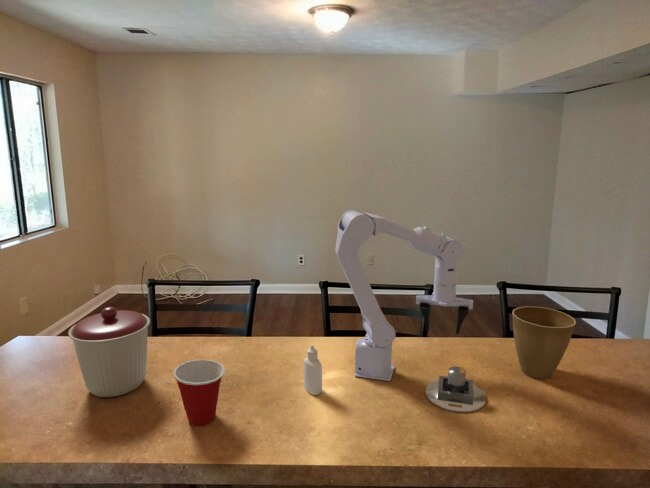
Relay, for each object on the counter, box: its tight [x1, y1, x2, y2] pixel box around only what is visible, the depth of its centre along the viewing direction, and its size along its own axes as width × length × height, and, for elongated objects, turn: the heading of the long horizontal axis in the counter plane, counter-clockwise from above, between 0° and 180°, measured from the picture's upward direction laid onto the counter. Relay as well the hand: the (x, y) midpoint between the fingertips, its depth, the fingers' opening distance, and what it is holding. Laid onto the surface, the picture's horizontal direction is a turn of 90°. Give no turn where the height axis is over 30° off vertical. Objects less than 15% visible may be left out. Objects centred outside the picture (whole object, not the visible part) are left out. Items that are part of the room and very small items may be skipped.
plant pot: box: [511, 306, 577, 380], centre depth 119 cm, size 15×15×16 cm
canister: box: [67, 306, 151, 398], centre depth 111 cm, size 18×18×21 cm
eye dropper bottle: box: [303, 344, 323, 396], centre depth 111 cm, size 4×6×12 cm
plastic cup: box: [173, 359, 226, 427], centre depth 99 cm, size 11×11×12 cm
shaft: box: [447, 365, 467, 394], centre depth 108 cm, size 4×4×6 cm
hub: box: [425, 375, 487, 413], centre depth 109 cm, size 14×14×3 cm
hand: (442, 331), depth 121 cm, fingers open, 7 cm apart
